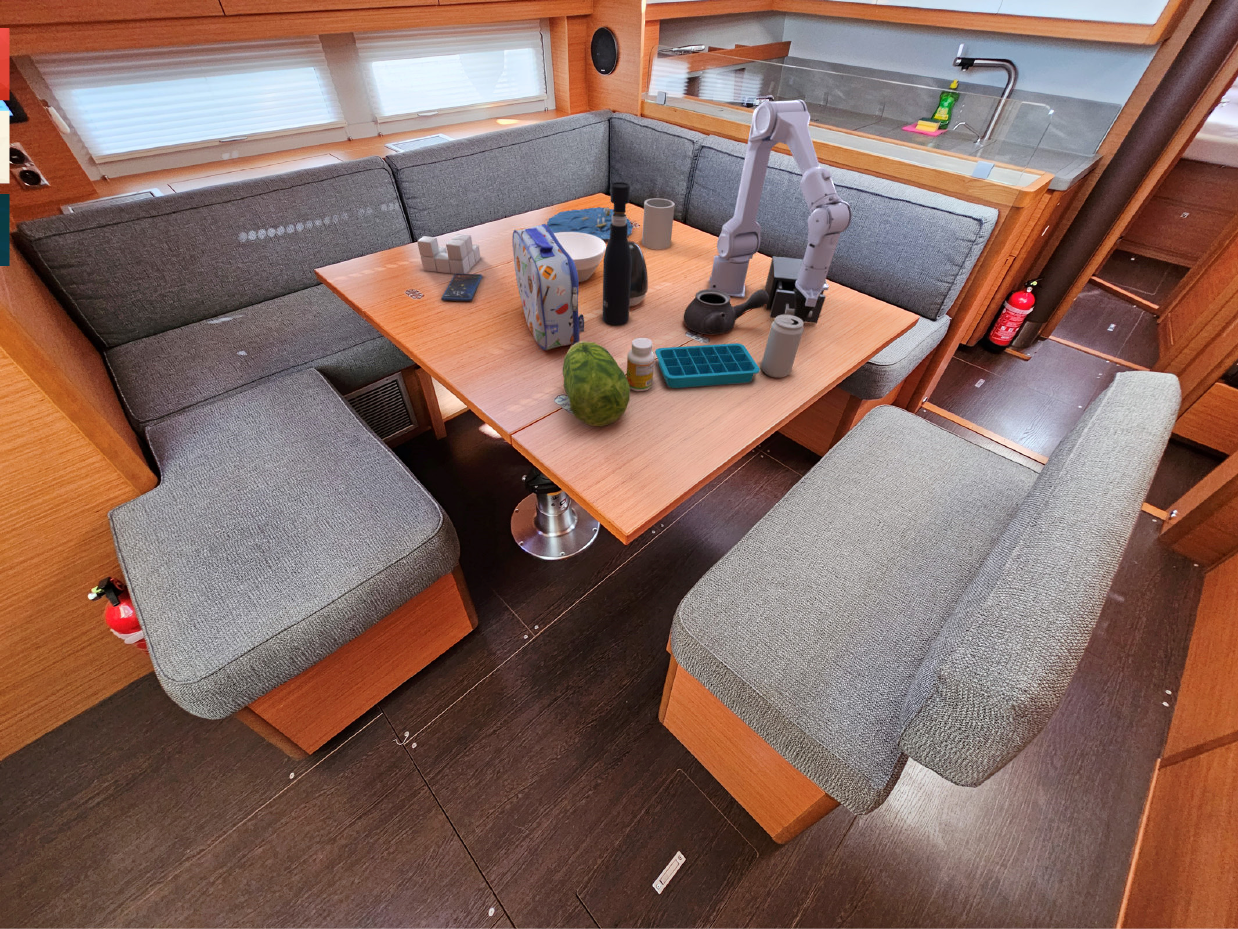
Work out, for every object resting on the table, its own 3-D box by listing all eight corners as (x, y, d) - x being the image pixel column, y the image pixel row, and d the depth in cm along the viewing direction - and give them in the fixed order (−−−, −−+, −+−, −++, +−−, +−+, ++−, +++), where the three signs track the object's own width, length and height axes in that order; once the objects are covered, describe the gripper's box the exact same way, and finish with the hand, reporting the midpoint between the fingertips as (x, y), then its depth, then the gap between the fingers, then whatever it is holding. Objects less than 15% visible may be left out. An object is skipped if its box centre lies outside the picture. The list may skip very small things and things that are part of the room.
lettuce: (606, 368, 109) (607, 320, 101) (635, 429, 95) (638, 377, 87) (553, 375, 107) (550, 326, 99) (574, 438, 92) (572, 386, 85)
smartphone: (482, 273, 139) (470, 298, 128) (482, 276, 140) (471, 301, 129) (454, 272, 139) (440, 297, 128) (454, 275, 139) (441, 300, 128)
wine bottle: (632, 316, 127) (640, 182, 106) (623, 327, 122) (630, 191, 102) (607, 311, 128) (611, 178, 107) (598, 322, 124) (600, 186, 103)
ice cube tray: (758, 384, 107) (762, 372, 105) (665, 391, 104) (666, 378, 102) (739, 354, 115) (742, 342, 113) (652, 360, 112) (653, 348, 110)
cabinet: (816, 315, 131) (826, 282, 125) (766, 309, 132) (774, 276, 126) (811, 292, 140) (821, 261, 134) (765, 287, 142) (772, 256, 136)
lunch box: (590, 356, 113) (590, 255, 98) (544, 364, 110) (537, 261, 94) (554, 301, 131) (549, 209, 116) (514, 307, 128) (503, 213, 113)
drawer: (818, 331, 123) (827, 305, 118) (770, 325, 124) (777, 299, 119) (812, 300, 135) (820, 275, 130) (768, 295, 136) (775, 270, 131)
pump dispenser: (614, 290, 137) (616, 231, 126) (651, 297, 135) (656, 237, 124) (600, 306, 130) (601, 245, 119) (639, 314, 128) (644, 252, 117)
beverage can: (790, 381, 108) (806, 330, 100) (759, 377, 109) (773, 325, 101) (789, 365, 113) (804, 315, 105) (759, 361, 114) (773, 311, 105)
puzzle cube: (480, 258, 149) (476, 229, 143) (464, 275, 140) (459, 245, 135) (441, 254, 150) (436, 225, 145) (423, 270, 141) (416, 241, 136)
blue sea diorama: (603, 256, 157) (603, 238, 153) (527, 232, 167) (526, 215, 164) (652, 225, 174) (653, 209, 170) (581, 205, 185) (580, 190, 181)
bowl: (522, 281, 139) (519, 250, 133) (555, 256, 152) (554, 227, 146) (588, 296, 134) (588, 264, 128) (616, 268, 147) (617, 239, 141)
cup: (671, 249, 159) (675, 208, 151) (642, 248, 159) (644, 207, 150) (669, 239, 165) (673, 199, 157) (641, 237, 165) (644, 197, 157)
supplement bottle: (624, 377, 107) (626, 335, 100) (650, 376, 108) (654, 335, 101) (627, 392, 103) (629, 350, 97) (653, 391, 104) (657, 349, 97)
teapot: (690, 346, 117) (697, 305, 110) (678, 314, 128) (683, 275, 121) (770, 344, 119) (781, 304, 112) (750, 313, 130) (759, 274, 123)
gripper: (839, 279, 104) (818, 339, 114) (831, 253, 115) (813, 309, 124) (804, 275, 105) (786, 335, 114) (799, 249, 116) (783, 306, 125)
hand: (798, 321), depth 119 cm, fingers closed
